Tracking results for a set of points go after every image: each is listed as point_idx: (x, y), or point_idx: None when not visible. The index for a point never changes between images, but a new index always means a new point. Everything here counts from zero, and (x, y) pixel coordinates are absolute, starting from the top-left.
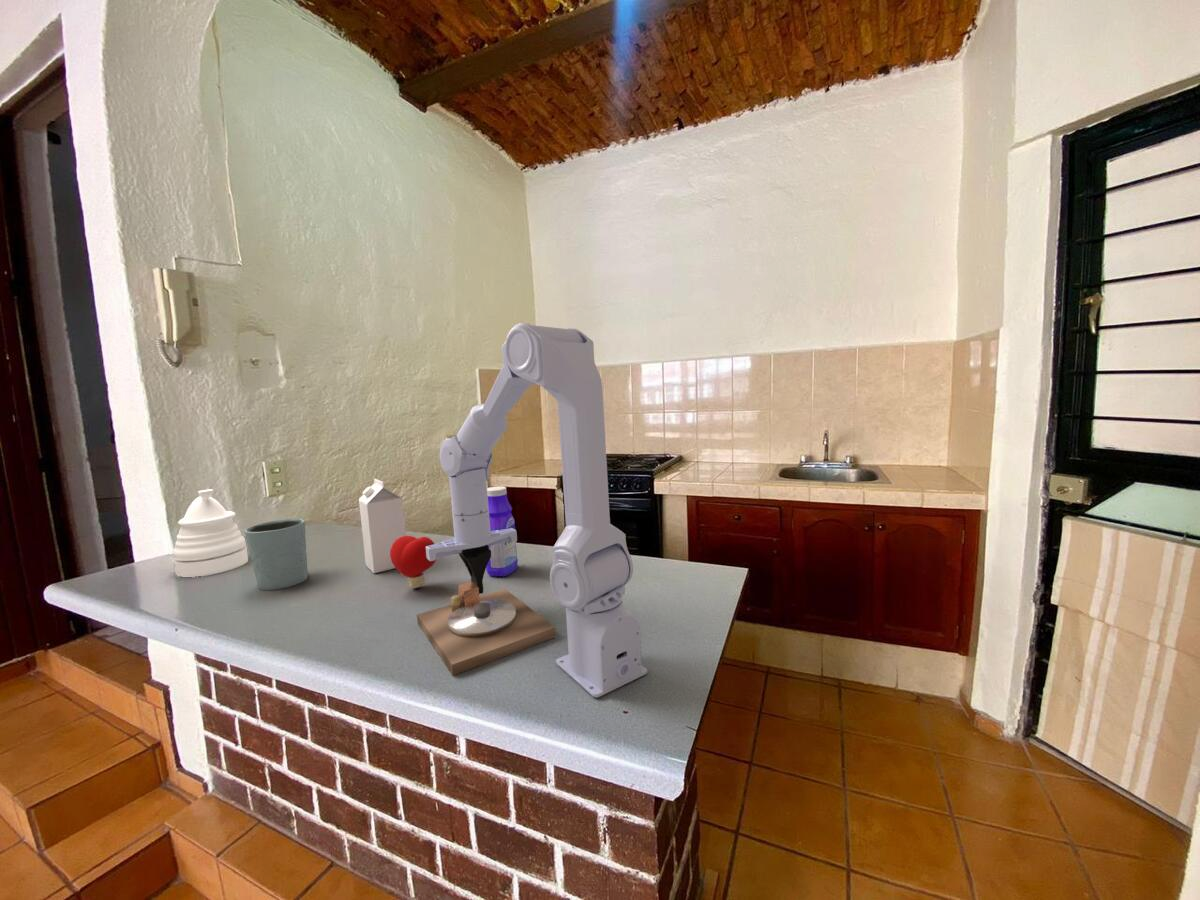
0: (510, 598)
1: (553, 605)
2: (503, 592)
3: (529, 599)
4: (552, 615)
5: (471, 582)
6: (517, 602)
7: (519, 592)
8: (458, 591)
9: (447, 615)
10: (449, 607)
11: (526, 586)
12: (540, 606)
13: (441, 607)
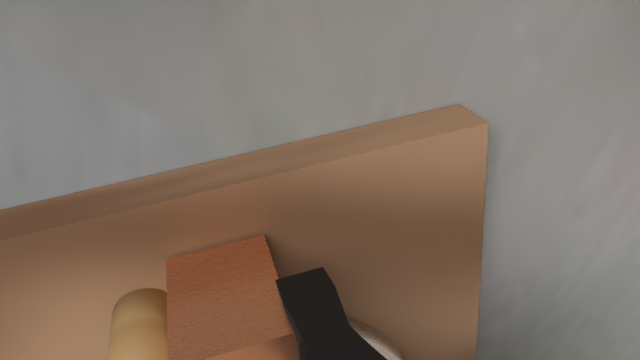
0: (453, 263)
1: (569, 283)
2: (458, 171)
3: (534, 188)
4: (519, 353)
5: (286, 345)
6: (459, 315)
7: (545, 74)
8: (167, 331)
9: (83, 350)
10: (93, 256)
11: (618, 3)
12: (529, 274)
13: (29, 234)
